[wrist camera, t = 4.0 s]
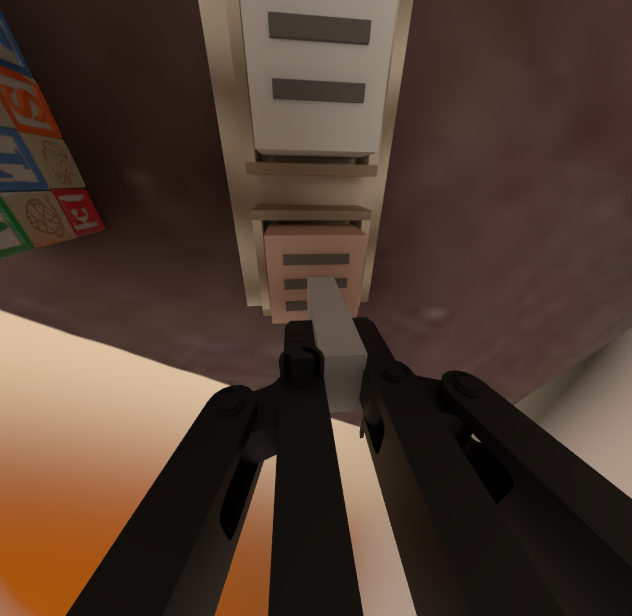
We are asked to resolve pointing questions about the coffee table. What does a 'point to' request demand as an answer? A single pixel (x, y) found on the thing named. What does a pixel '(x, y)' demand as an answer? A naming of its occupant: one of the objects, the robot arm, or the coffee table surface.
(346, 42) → the tile
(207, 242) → the coffee table surface
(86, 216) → the stack of blocks
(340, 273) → the tile
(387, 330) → the coffee table surface
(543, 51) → the coffee table surface
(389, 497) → the robot arm
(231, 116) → the button board
